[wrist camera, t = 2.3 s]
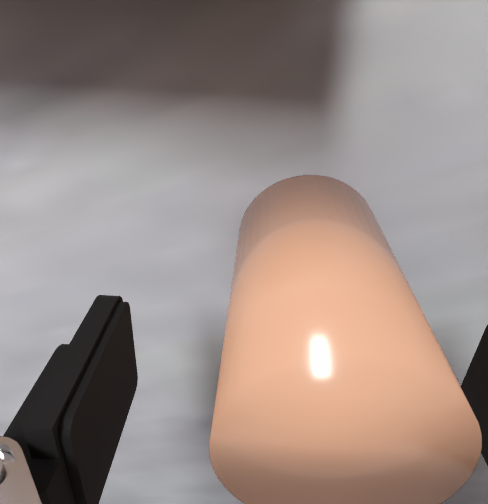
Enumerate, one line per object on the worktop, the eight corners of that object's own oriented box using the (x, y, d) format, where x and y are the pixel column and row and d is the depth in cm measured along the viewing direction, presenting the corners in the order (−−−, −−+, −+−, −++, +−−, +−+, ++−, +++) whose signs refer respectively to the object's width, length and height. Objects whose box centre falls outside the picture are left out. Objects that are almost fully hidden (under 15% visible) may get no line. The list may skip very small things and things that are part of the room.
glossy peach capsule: (389, 179, 15) (526, 372, 7) (362, 299, 17) (437, 538, 9) (241, 170, 15) (209, 350, 7) (236, 291, 17) (209, 519, 10)
